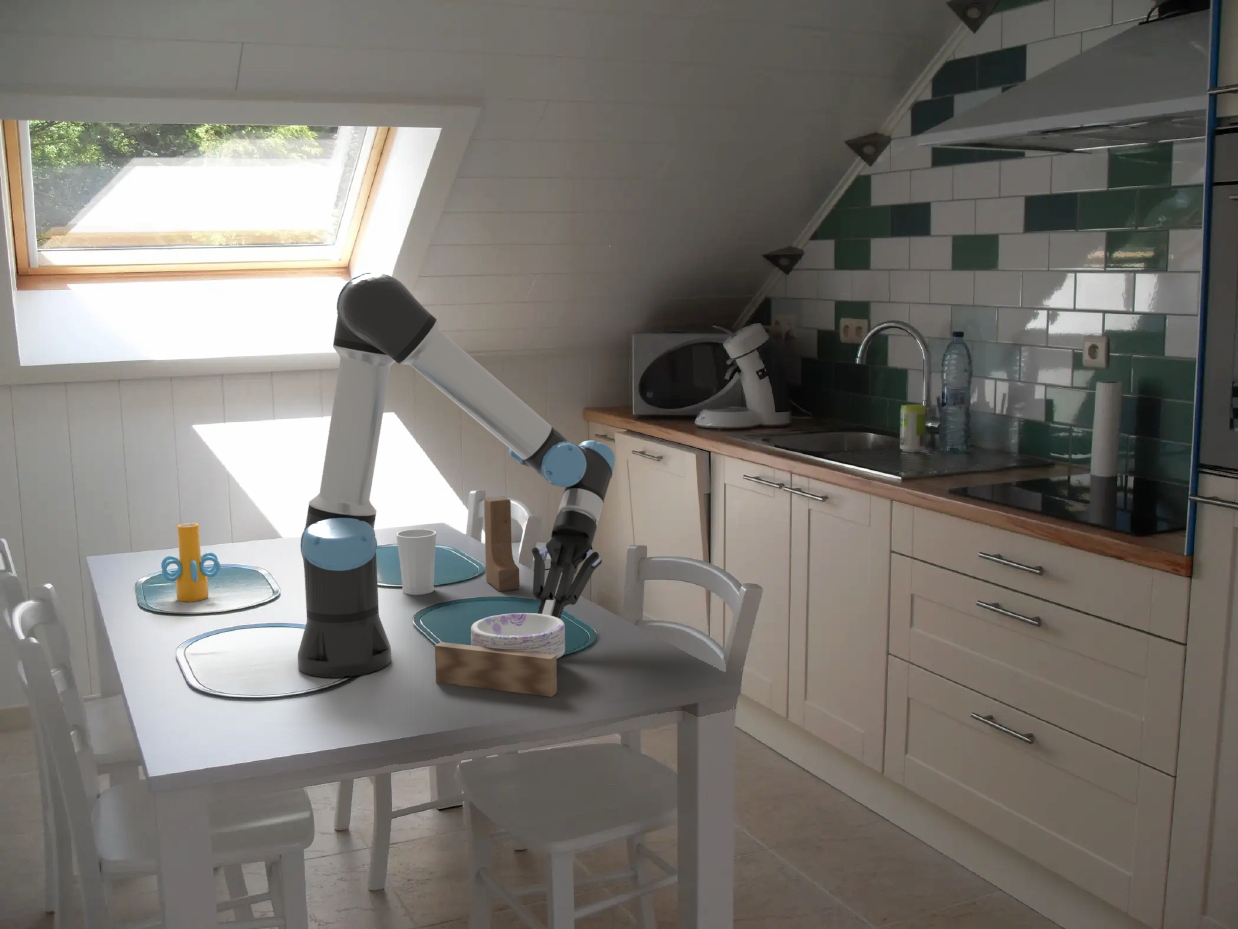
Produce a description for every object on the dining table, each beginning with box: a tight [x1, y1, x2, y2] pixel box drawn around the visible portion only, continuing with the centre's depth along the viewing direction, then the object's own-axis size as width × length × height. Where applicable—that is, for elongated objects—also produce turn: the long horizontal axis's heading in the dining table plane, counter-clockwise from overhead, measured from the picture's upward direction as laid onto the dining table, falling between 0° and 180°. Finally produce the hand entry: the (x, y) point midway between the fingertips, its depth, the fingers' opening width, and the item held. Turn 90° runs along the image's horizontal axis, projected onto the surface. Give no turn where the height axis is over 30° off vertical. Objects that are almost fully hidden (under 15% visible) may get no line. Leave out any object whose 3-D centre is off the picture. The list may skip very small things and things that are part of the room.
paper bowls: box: [470, 612, 566, 660], centre depth 194 cm, size 15×15×8 cm
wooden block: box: [483, 495, 520, 592], centre depth 246 cm, size 9×4×18 cm, turn 24°
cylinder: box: [160, 522, 221, 603], centre depth 239 cm, size 12×10×15 cm
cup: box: [396, 528, 437, 596], centre depth 243 cm, size 8×8×12 cm
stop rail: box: [434, 641, 558, 698], centre depth 186 cm, size 20×2×6 cm, turn 69°
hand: (542, 637), depth 202 cm, fingers closed
